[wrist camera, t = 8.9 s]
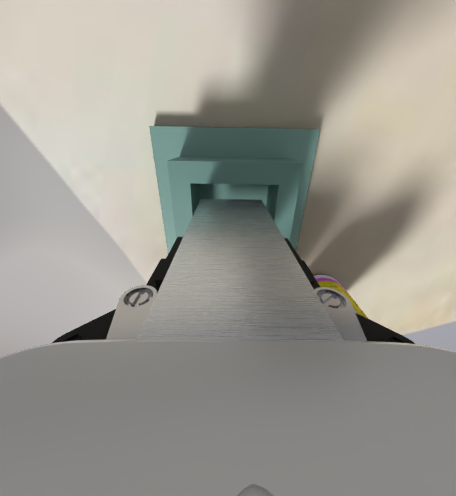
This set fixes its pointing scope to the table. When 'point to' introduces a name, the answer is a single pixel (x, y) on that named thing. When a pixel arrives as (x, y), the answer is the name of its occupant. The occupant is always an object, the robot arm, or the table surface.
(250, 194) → the well
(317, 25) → the table surface
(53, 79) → the table surface
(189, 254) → the silver square block
